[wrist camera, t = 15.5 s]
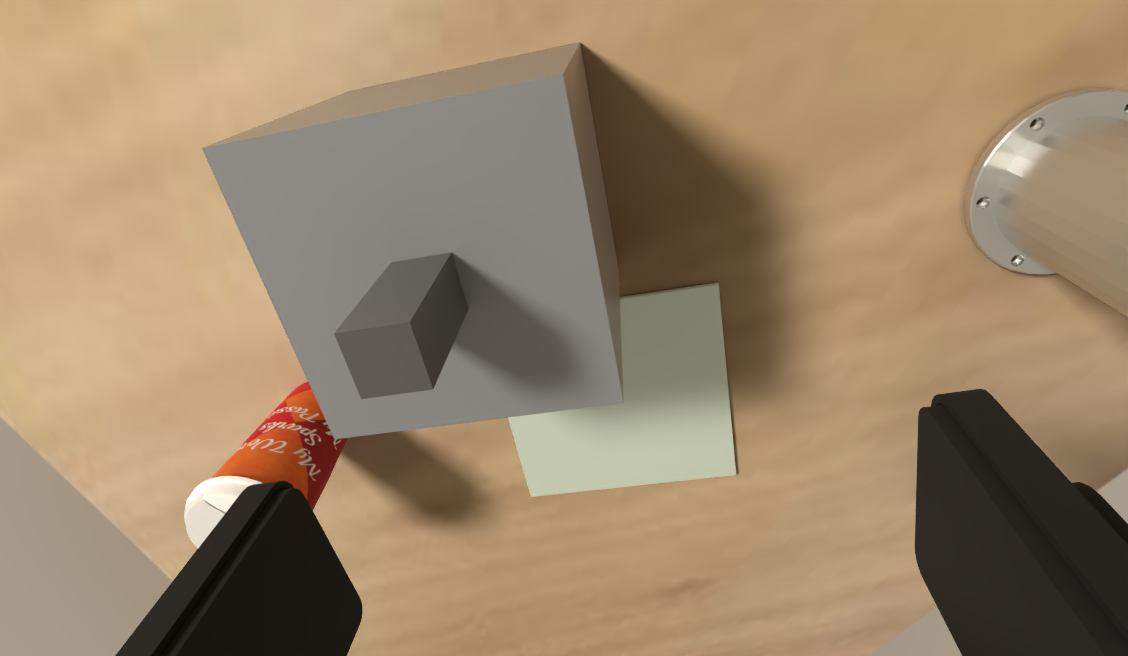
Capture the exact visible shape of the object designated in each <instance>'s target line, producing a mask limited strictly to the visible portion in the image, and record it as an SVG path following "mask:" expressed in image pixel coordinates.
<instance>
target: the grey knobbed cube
mask: <svg viewBox="0 0 1128 656" xmlns="http://www.w3.org/2000/svg"><path fill="white" fill-rule="evenodd" d="M202 149H203V152H204V154H205V156H206V158H207V160H208V163H209V165H210V167H211V169H212V171H213V174H214V176H215V178H216V180H217V182H218V185H219V187H220V189H221V191H222V193H223V196H224V198H225V200H226V202H227V204H228V206H229V209H230V211H231V213H232V215H233V217H234V220H235V222H236V224H237V226H238V228H239V231H240V233H241V235H242V237H243V239H244V242H245V244H246V246H247V248H248V250H249V253H250V255H251V257H252V259H253V261H254V264H255V266H256V268H257V270H258V272H259V275H260V277H261V279H262V281H263V283H264V286H265V288H266V290H267V292H268V294H269V297H270V299H271V301H272V303H273V305H274V308H275V310H276V312H277V314H278V316H279V319H280V321H281V323H282V325H283V327H284V329H285V332H286V334H287V336H288V338H289V340H290V343H291V345H292V347H293V349H294V351H295V354H296V356H297V358H298V360H299V362H300V365H301V367H302V369H303V371H304V373H305V376H306V378H307V380H308V382H309V384H310V387H311V389H312V391H313V393H314V395H315V398H316V400H317V402H318V404H319V406H320V409H321V411H322V413H323V415H324V417H325V420H326V422H327V424H328V426H329V428H330V431H331V433H332V435H333V437H334V439H342V438H350V437H358V436H366V435H374V434H381V433H389V432H397V431H405V430H413V429H421V428H429V427H437V426H445V425H453V424H461V423H469V422H477V421H485V420H492V419H500V418H508V417H516V416H524V415H532V414H540V413H548V412H556V411H564V410H572V409H580V408H588V407H596V406H604V405H611V404H619V403H624V398H623V371H622V345H621V318H620V292H619V268H618V263H617V257H616V251H615V245H614V239H613V233H612V227H611V221H610V215H609V209H608V203H607V198H606V192H605V186H604V180H603V174H602V168H601V162H600V156H599V150H598V144H597V139H596V133H595V127H594V121H593V115H592V109H591V103H590V97H589V91H588V85H587V79H586V74H585V68H584V62H583V56H582V50H581V44H580V42H579V43H575V44H570V45H565V46H560V47H556V48H551V49H546V50H542V51H537V52H532V53H528V54H523V55H518V56H513V57H509V58H504V59H499V60H495V61H490V62H485V63H480V64H476V65H471V66H466V67H462V68H457V69H452V70H447V71H443V72H438V73H433V74H429V75H424V76H419V77H414V78H410V79H405V80H400V81H396V82H391V83H386V84H382V85H377V86H372V87H367V88H363V89H358V90H353V91H349V92H346V93H344V94H341V95H338V96H336V97H333V98H331V99H328V100H325V101H323V102H320V103H318V104H315V105H313V106H310V107H307V108H305V109H302V110H300V111H297V112H294V113H292V114H289V115H287V116H284V117H282V118H279V119H276V120H274V121H271V122H269V123H266V124H263V125H261V126H258V127H256V128H253V129H250V130H248V131H245V132H243V133H240V134H238V135H235V136H232V137H230V138H227V139H225V140H222V141H219V142H217V143H214V144H212V145H209V146H207V147H204V148H202Z"/></svg>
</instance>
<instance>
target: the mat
mask: <svg viewBox="0 0 1128 656" xmlns="http://www.w3.org/2000/svg"><path fill="white" fill-rule="evenodd" d="M620 318H621V345H622V371H623V398H624V403H619V404H611V405H604V406H596V407H588V408H580V409H572V410H564V411H556V412H548V413H540V414H532V415H524V416H516V417H508V419H509V423H510V426H511V430H512V433H513V437H514V440H515V443H516V447H517V450H518V454H519V457H520V461H521V464H522V467H523V471H524V474H525V478H526V481H527V485H528V488H529V491H530V495H531V497H534V496H543V495H552V494H562V493H571V492H581V491H590V490H599V489H609V488H618V487H627V486H637V485H646V484H655V483H665V482H674V481H684V480H693V479H702V478H712V477H721V476H730V475H736V467H735V456H734V445H733V434H732V424H731V413H730V402H729V391H728V380H727V369H726V358H725V347H724V336H723V325H722V314H721V303H720V293H719V284H718V282H717V283H710V284H704V285H697V286H691V287H684V288H677V289H671V290H664V291H657V292H651V293H644V294H638V295H631V296H624V297H620Z"/></svg>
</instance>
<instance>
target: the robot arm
mask: <svg viewBox="0 0 1128 656" xmlns="http://www.w3.org/2000/svg"><path fill="white" fill-rule="evenodd" d="M1031 122H1032V123H1031ZM978 200H979V201H978ZM977 201H978V202H977ZM964 214H965V223H966V226H967V229H968V232H969V235H970V237H971V238H972V240H973V242H974V243H975V245H976V247H977V248H978V249H979V250H980V251H982V252H983V253H984V254H985V255H986V256H987V257H988V258H990V259H991V260H993V261H994V262H996V263H997V264H999V265H1000V266H1002V267H1005V268H1007V269H1009V270H1012V271H1016V272H1021V273H1026V274H1045V275H1047V274H1054V273H1058V274H1060V275H1061V276H1063V277H1064V278H1066V279H1068V280H1069V281H1071V282H1072V283H1074V284H1076V285H1077V286H1079V287H1080V288H1082V289H1084V290H1085V291H1087V292H1088V293H1090V294H1091V295H1093V296H1095V297H1096V298H1098V299H1099V300H1101V301H1103V302H1104V303H1106V304H1107V305H1109V306H1111V307H1112V308H1114V309H1115V310H1117V311H1119V312H1120V313H1122V314H1123V315H1125V316H1127V317H1128V91H1124V90H1118V89H1113V88H1086V89H1080V90H1075V91H1069V92H1066V93H1063V94H1061V95H1058V96H1055V97H1052V98H1049V99H1047V100H1045V101H1043V102H1041V103H1039V104H1038V105H1036V106H1034V107H1032V108H1030V109H1028V110H1027V111H1026V112H1024V113H1023V114H1021V115H1020V116H1019V117H1017V118H1016V119H1014V120H1013V121H1012V122H1010V123H1009V124H1008V125H1007V126H1006V127H1005V128H1004V129H1003V130H1002V131H1001V132H1000V133H999V134H998V135H997V136H996V137H995V138H994V139H993V141H992V142H991V143H990V144H989V146H988V147H987V148H986V150H985V151H984V152H983V153H982V155H981V157H980V159H979V160H978V162H977V164H976V166H975V168H974V169H973V171H972V174H971V177H970V180H969V183H968V185H967V188H966V195H965V201H964ZM915 554H916V560H917V564H918V567H919V570H920V573H921V575H922V577H923V579H924V581H925V583H926V585H927V587H928V589H929V591H930V593H931V595H932V597H933V599H934V601H935V603H936V605H937V607H938V609H939V611H940V613H941V615H942V617H943V619H944V621H945V623H946V625H947V627H948V628H949V631H950V632H951V634H952V636H953V638H954V640H955V642H956V644H957V646H958V648H959V650H960V652H961V654H962V656H1128V524H1127V523H1126V522H1125V521H1124V520H1123V518H1121V516H1120V515H1119V514H1118V513H1117V512H1116V511H1115V510H1114V509H1113V508H1112V507H1111V506H1110V505H1109V504H1108V503H1107V502H1106V501H1105V499H1103V497H1102V496H1101V495H1099V494H1098V493H1097V492H1096V491H1095V490H1094V489H1092V488H1091V487H1090V486H1088V485H1085V484H1083V483H1080V482H1076V483H1071V482H1070V481H1069V480H1068V479H1067V478H1066V477H1065V475H1064V474H1063V473H1062V472H1061V471H1060V470H1059V469H1058V468H1057V467H1056V466H1055V464H1054V463H1053V462H1052V461H1051V460H1050V459H1049V458H1048V457H1047V456H1046V455H1045V453H1044V452H1043V451H1042V450H1041V449H1040V448H1039V447H1038V446H1037V445H1036V444H1035V443H1034V441H1033V440H1032V439H1031V438H1030V437H1029V436H1028V435H1027V434H1026V433H1025V432H1024V430H1023V429H1022V428H1021V427H1020V426H1019V425H1018V424H1017V423H1016V422H1015V421H1014V419H1013V418H1012V417H1011V416H1010V415H1009V414H1008V413H1007V412H1006V411H1005V410H1004V408H1003V407H1002V406H1001V405H1000V404H999V403H998V402H997V401H996V400H995V399H994V397H993V396H992V395H991V394H990V393H988V392H987V391H986V390H983V389H976V390H969V391H961V392H954V393H946V394H938V395H936V396H934V398H933V400H932V404H931V407H923V408H921V409H920V411H919V416H918V451H917V489H916V526H915ZM361 618H362V603H361V600H360V597H359V595H358V594H357V592H356V590H355V588H354V586H353V584H352V582H351V581H350V579H349V577H348V575H347V573H346V571H345V570H344V568H343V566H342V564H341V562H340V560H339V559H338V557H337V555H336V553H335V551H334V549H333V548H332V546H331V544H330V542H329V540H328V538H327V536H326V535H325V533H324V531H323V529H322V527H321V525H320V524H319V522H318V520H317V518H316V516H315V514H314V513H313V511H312V509H311V507H310V505H309V503H308V501H307V500H306V498H305V496H304V494H303V493H302V492H301V491H300V490H299V489H296V488H294V487H293V486H292V484H290V483H289V482H287V481H276V482H268V483H261V484H253V485H250V486H248V487H246V488H245V489H244V490H243V491H242V492H241V494H240V495H239V496H238V498H237V499H236V500H235V502H234V503H233V504H232V505H231V507H230V508H229V509H228V511H227V512H226V513H225V514H224V516H223V517H222V518H221V520H220V521H219V522H218V524H217V525H216V526H215V527H214V529H213V530H212V531H211V533H210V534H209V535H208V536H207V538H206V539H205V540H204V542H203V543H202V544H201V546H200V547H199V548H198V549H197V551H196V552H195V553H194V555H193V556H192V557H191V558H190V560H189V561H188V562H187V564H186V565H185V566H184V568H183V569H182V570H181V571H180V573H179V574H178V575H177V577H176V578H175V579H174V580H173V582H172V583H171V585H170V586H169V587H168V588H167V590H166V591H165V592H164V594H163V595H162V596H161V597H160V599H159V600H158V601H157V603H156V604H155V605H154V606H153V608H152V609H151V610H150V612H149V613H148V614H147V615H146V617H145V618H144V619H143V621H142V622H141V623H140V625H139V626H138V627H137V628H136V630H135V631H134V633H133V634H132V635H131V636H130V637H129V639H128V640H127V641H126V643H125V644H124V645H123V647H122V648H121V649H120V651H119V652H118V653H117V654H116V656H347V653H348V651H349V649H350V646H351V644H352V642H353V639H354V637H355V634H356V632H357V630H358V627H359V625H360V622H361Z"/></svg>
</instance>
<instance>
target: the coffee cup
mask: <svg viewBox="0 0 1128 656" xmlns="http://www.w3.org/2000/svg"><path fill="white" fill-rule="evenodd" d="M346 440H347V438H342V439H334V437H333V435H332V433H331V431H330V428H329V426H328V424H327V422H326V420H325V417H324V415H323V413H322V411H321V409H320V406H319V404H318V402H317V400H316V398H315V395H314V393H313V391H312V389H311V387H310V384H309V382H306V383H304V384H302V385H300V386H299V387H297V388H296V389H295V390H294V391H293V392H292V393H291V394H290V395H289V396H288V397H287V398H286V399H285V400H284V401H283V402H282V403H281V404H280V405H279V406H278V407H277V408H276V409H275V410H274V411H273V412H272V413H271V415H270V416H269V417H268V418H267V419H266V420H265V421H264V422H263V423H262V424H261V425H260V426H259V427H258V428H257V429H256V431H255V432H254V433H253V434H252V435H251V436H250V437H249V438H248V439H247V440H246V441H245V442H244V443H243V445H242V446H241V447H240V448H239V449H238V450H237V451H236V452H235V453H234V454H233V455H232V456H231V457H230V459H229V460H228V461H227V462H226V463H225V464H224V465H223V466H222V467H221V468H220V469H219V470H218V471H217V473H216V474H215V475H214V476H213V477H212V478H211V479H209V480H206V481H204V482H202V483H201V484H199V485H198V486H197V487H196V488H195V489H194V490H193V492H192V493H191V495H190V496H189V498H188V499H187V500H186V509H185V512H184V519H185V524H186V530H187V533H188V536H189V537H190V539H191V541H192V542H193V543H194V545H195V546H196V547H197V548H199V547H200V546H201V544H202V543H203V542H204V540H205V539H206V538H207V536H208V535H209V534H210V533H211V531H212V530H213V529H214V527H215V526H216V525H217V524H218V522H219V521H220V520H221V518H222V517H223V516H224V514H225V513H226V512H227V511H228V509H229V508H230V507H231V505H232V504H233V503H234V502H235V500H236V499H237V498H238V496H239V495H240V494H241V492H242V491H243V490H244V489H245V488H246V487H248V486H250V485H253V484H261V483H268V482H276V481H287V482H289V483H290V484H292V486H293V487H294V488H296V489H299V490H300V491H301V492H302V493H303V494H304V496H305V498H306V500H307V501H308V503H309V505H310V507H311V509H312V511H313V509H314V507H315V505H316V503H317V501H318V499H319V497H320V495H321V493H322V491H323V489H324V487H325V485H326V483H327V481H328V479H329V477H330V475H331V473H332V471H333V468H334V466H335V464H336V462H337V459H338V457H339V455H340V453H341V451H342V449H343V447H344V444H345V442H346Z"/></svg>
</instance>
